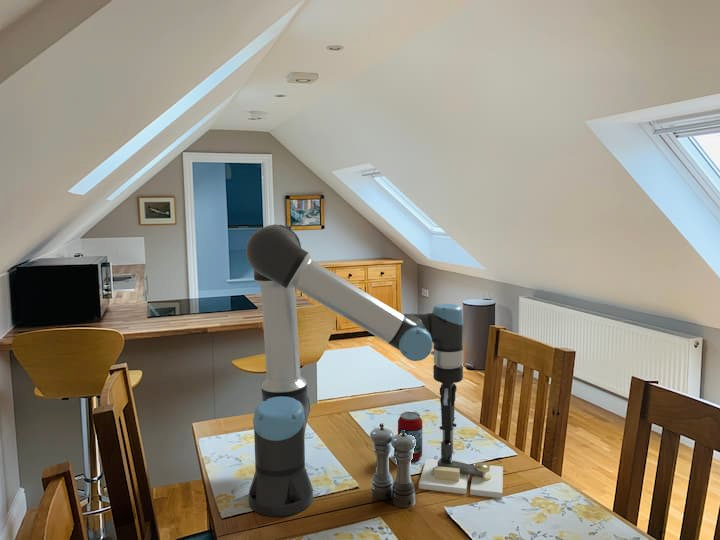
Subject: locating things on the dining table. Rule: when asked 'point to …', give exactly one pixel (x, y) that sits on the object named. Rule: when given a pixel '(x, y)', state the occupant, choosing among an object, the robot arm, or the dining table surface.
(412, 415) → the beverage can
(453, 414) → the robot arm
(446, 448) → the latch bar
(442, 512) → the dining table surface
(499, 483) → the block
